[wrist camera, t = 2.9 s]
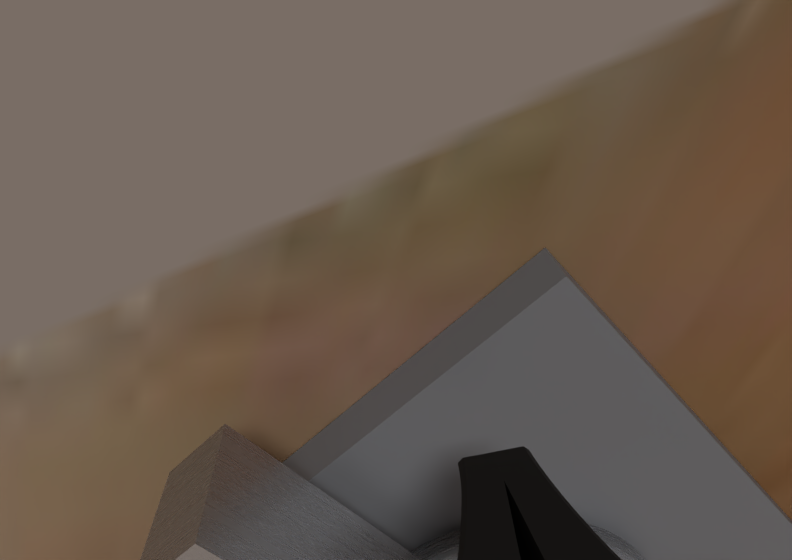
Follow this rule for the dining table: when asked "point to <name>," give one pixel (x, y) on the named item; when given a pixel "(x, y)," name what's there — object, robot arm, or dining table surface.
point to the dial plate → (544, 432)
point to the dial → (274, 514)
